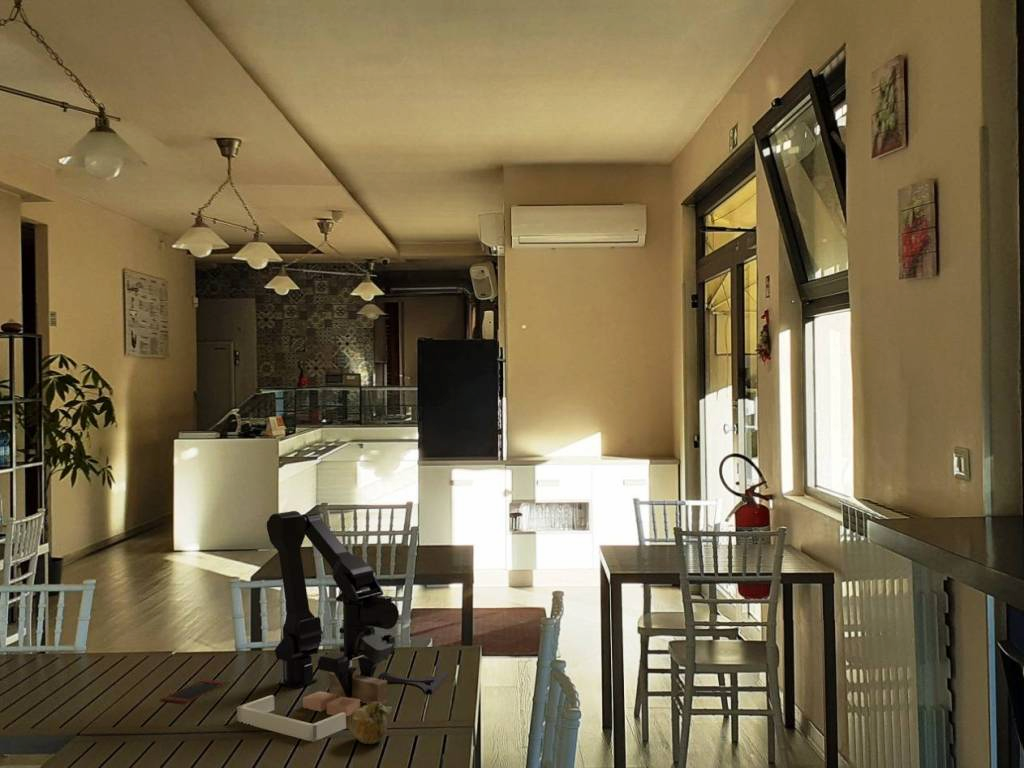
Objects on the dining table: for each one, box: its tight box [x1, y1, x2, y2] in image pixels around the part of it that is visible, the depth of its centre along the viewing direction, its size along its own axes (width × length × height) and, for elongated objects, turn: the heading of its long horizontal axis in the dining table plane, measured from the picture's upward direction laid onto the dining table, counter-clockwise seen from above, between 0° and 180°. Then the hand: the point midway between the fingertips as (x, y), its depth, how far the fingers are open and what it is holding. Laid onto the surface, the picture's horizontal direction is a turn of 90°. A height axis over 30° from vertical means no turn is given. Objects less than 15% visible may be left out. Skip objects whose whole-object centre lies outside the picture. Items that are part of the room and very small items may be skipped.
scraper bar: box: [328, 672, 389, 705], centre depth 221 cm, size 15×3×5 cm, turn 53°
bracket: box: [377, 669, 449, 694], centre depth 232 cm, size 14×15×3 cm
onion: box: [347, 702, 394, 745], centre depth 194 cm, size 8×8×8 cm
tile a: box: [302, 690, 338, 712], centre depth 216 cm, size 5×5×2 cm
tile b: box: [326, 697, 361, 718], centre depth 212 cm, size 5×5×2 cm
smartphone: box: [160, 679, 229, 704], centre depth 228 cm, size 7×1×15 cm
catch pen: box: [236, 694, 347, 743], centre depth 205 cm, size 22×9×3 cm, turn 55°
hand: (357, 694), depth 221 cm, fingers open, 5 cm apart
